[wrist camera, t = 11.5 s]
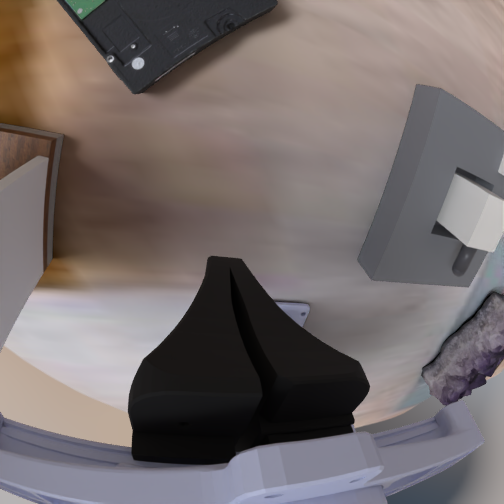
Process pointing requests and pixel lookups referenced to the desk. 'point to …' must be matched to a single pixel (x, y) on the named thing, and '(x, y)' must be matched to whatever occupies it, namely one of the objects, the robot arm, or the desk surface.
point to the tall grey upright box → (25, 214)
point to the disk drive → (157, 31)
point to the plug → (472, 219)
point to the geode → (469, 354)
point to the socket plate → (431, 191)
